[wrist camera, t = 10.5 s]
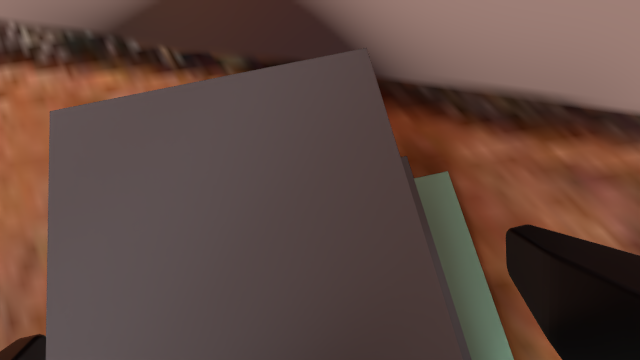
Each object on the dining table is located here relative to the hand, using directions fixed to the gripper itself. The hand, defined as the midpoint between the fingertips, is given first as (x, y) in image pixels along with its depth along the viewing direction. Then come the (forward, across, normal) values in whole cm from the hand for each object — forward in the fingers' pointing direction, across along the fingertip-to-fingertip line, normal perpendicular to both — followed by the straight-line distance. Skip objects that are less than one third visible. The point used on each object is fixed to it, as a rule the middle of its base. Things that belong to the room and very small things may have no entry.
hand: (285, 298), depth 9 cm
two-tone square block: (+6, 0, +5) cm, 8 cm away
